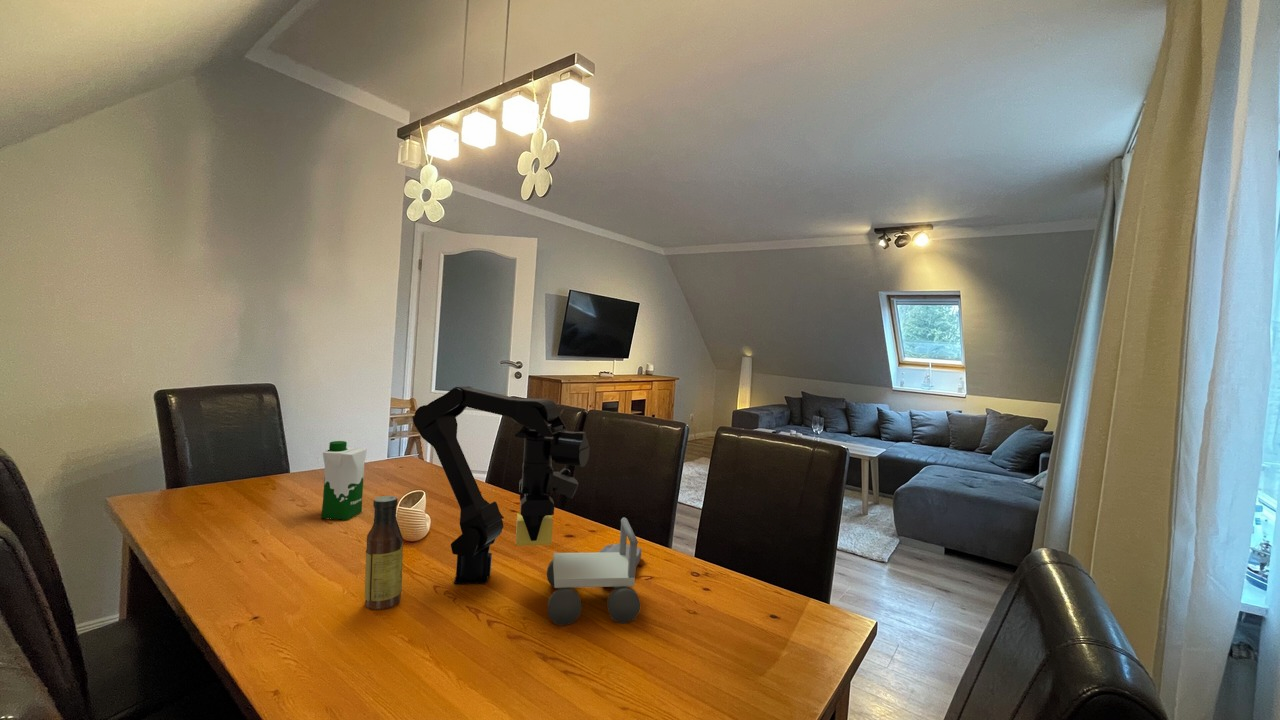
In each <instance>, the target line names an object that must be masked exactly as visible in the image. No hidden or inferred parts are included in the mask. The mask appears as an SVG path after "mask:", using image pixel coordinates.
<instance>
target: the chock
mask: <svg viewBox="0 0 1280 720" xmlns="http://www.w3.org/2000/svg"><path fill="white" fill-rule="evenodd" d="M553 523H554V520H553V515H547V516H545V517H544V518H543V520H542V523H541V527H540V530H539V533H538V537H537V540H536V541H531V539H530V536H529V534H528V531H527V528H526V525H525V522H524V519H523V517H522V515H521V513H517V514H516V525H515V526H516V528H515V546H517V547H519V546H520V547H521V546H547V545H548V546H549V545H550V546H551V545H552V543H553V542H552V541H553V539H552V538H553Z"/></svg>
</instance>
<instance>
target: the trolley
mask: <svg viewBox="0 0 1280 720" xmlns="http://www.w3.org/2000/svg"><path fill="white" fill-rule="evenodd" d="M634 532H635V531H633V528H632V527H631V525H630V522H629V520H628V518H626V517H622V518H621V519H620V534H619V535H620V536H619V544H620V547H619V552H600V551H598V552H597V551H596V552H553V557H552V560H551V561H550V562H549V563H548V564H547V565H548V566H547V569H546V578H547V581H548V583H549V585H550V586H552V587H553V588H555V589H556V590H555V591H554V592H553V593H551V595H550V596H549V598H548V602H547V614H548V617H549V619H550V620H551V621H552V622H553V623H554V624H556V625H558V626H568V625H570V624H572V623H574V622H575V621H576V620H577V619H578V618H580V615H581V613H582V602H581V597H580V595H579V593H578V592H577V590H575V589H573V588H600V587H601V588H602V587H603V588H604V587H605V588H606V587H607V588H612V589H613V588H614V589H613V590H612V591H611V592H610V593H609V595H608V597H607V599H606V600H607V601H606V607H607V610H608V613H609V617H610V618H611V620H613V621H615V623H619V624H627V623H630V622H632V621H633V620H635V619H636V618H637V616H638V615H639V613H640V611H641V600H640V598H639V596H638V593H637V592H636V591H635V589H633V588H632V587H635V582H636V578H635V577H636V569H637V567H636V554H637V548H638V543H639V542H638V538H637V537H636V535H635V533H634ZM627 540H628V541H629V545H630V547H629V562H628V559H627V557H626V544H627ZM635 568H636V569H635Z"/></svg>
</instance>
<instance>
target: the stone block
mask: <svg viewBox="0 0 1280 720" xmlns="http://www.w3.org/2000/svg"><path fill="white" fill-rule="evenodd" d="M619 547H620V543H615V544H614V543H613V544H607V545H604V546H603V548H602V549H600V550H599V552H619ZM629 547H630V544H627V543H626V557H627V559H628V562H629ZM641 559H642V548H641V547H637V554H636V568H635V570H636V569H637V567H638V565H639V563H640V562H641Z"/></svg>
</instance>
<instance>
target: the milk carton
mask: <svg viewBox="0 0 1280 720" xmlns="http://www.w3.org/2000/svg"><path fill="white" fill-rule="evenodd" d="M347 445H348V444H347V441H345V440H337V441H336V440H335V441H330V442H329V449H327V450H325V451H323V452H322V456H323V463H324V477H323V478H324V479H323V493H322V504H321V505H322V506H321V516H320V519H321V518H329V519H328V520H332V519H342V520H341V521H346V520H347V521H349V520H351V519H352V518H351V517H353V516H354V517H356V516H358V515H360V514H361V513H362V512H363V493H364V491H363V489H364V477H365V463H366V462H365V461H366V456H367V450H368V449H367V448H359V447H349V446H347ZM360 512H361V513H360ZM359 513H360V514H359ZM357 514H358V515H357ZM355 515H356V516H355ZM354 517H353V518H354ZM330 518H331V519H330ZM350 518H351V519H350ZM348 519H349V520H348Z"/></svg>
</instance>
